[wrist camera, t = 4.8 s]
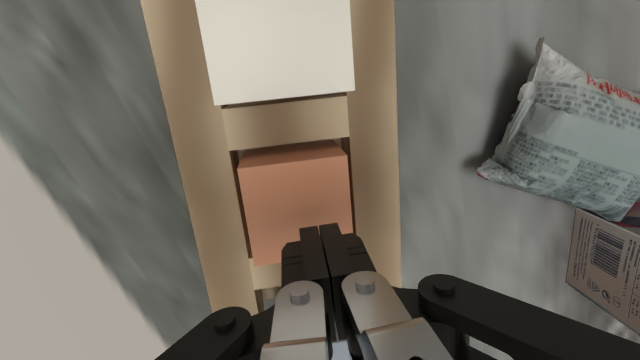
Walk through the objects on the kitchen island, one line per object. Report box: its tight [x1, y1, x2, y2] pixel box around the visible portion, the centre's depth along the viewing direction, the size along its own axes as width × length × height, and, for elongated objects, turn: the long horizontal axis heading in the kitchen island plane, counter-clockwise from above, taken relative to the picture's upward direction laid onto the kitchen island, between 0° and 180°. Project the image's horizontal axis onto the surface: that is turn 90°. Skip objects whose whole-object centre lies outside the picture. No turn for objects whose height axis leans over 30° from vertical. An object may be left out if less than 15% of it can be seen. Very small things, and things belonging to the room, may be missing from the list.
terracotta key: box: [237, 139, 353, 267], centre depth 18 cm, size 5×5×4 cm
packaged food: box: [477, 37, 640, 222], centre depth 22 cm, size 9×12×5 cm
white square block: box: [195, 0, 355, 106], centre depth 13 cm, size 5×5×4 cm
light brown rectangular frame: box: [140, 0, 402, 316], centre depth 20 cm, size 11×26×5 cm, turn 6°
